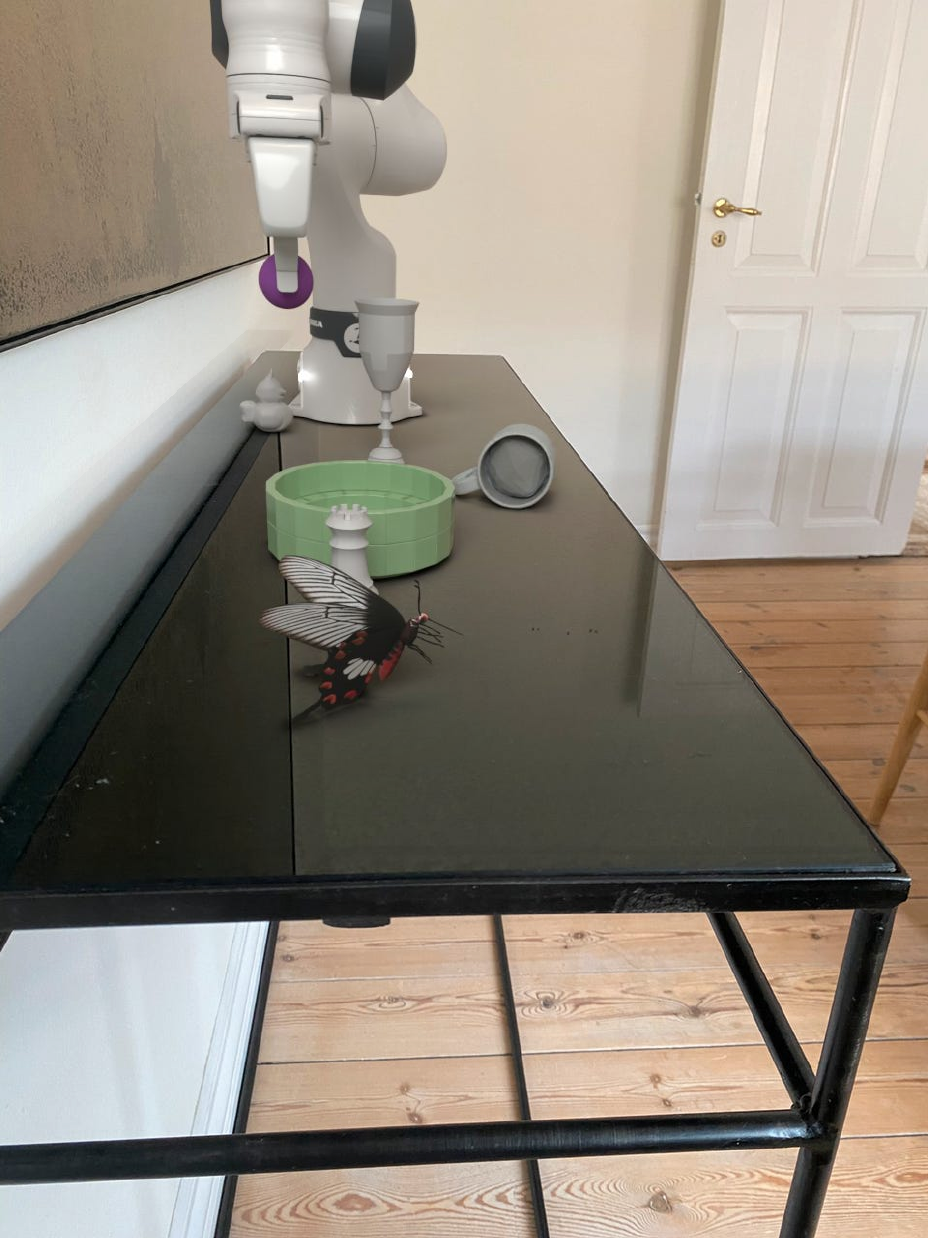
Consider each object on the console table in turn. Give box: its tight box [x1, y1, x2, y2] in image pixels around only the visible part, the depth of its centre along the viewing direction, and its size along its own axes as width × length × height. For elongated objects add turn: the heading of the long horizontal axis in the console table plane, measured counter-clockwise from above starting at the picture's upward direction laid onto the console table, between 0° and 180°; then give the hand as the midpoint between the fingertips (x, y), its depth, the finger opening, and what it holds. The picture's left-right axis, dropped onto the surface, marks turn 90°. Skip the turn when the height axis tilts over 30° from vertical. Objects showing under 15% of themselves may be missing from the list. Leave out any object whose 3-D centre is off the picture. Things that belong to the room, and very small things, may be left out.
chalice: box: [354, 298, 420, 464], centre depth 100 cm, size 7×7×18 cm
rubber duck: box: [239, 368, 294, 433], centre depth 117 cm, size 5×7×8 cm
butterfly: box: [258, 555, 464, 725], centre depth 54 cm, size 11×8×10 cm
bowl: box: [265, 459, 456, 580], centre depth 79 cm, size 16×16×6 cm
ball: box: [258, 253, 314, 310], centre depth 86 cm, size 5×5×5 cm
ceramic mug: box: [450, 423, 557, 509], centre depth 95 cm, size 11×8×8 cm
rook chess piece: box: [325, 504, 380, 596], centre depth 66 cm, size 4×4×8 cm
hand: (287, 289), depth 86 cm, fingers closed on ball, 5 cm apart
